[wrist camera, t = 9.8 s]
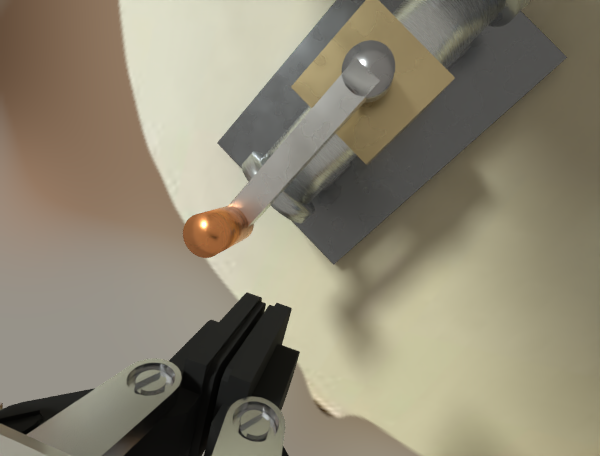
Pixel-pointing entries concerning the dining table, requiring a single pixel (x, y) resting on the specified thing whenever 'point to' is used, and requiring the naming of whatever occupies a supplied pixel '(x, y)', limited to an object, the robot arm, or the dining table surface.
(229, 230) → the lever
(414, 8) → the valve body
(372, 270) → the dining table surface
